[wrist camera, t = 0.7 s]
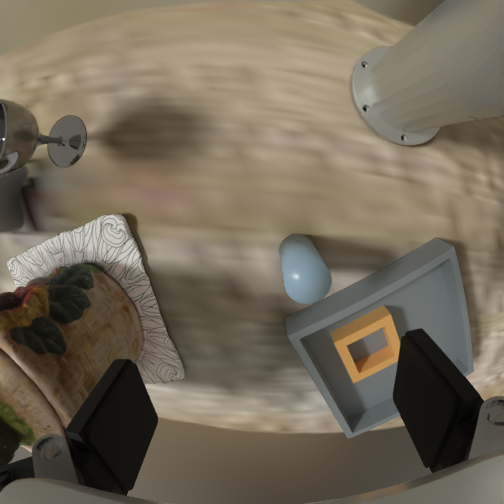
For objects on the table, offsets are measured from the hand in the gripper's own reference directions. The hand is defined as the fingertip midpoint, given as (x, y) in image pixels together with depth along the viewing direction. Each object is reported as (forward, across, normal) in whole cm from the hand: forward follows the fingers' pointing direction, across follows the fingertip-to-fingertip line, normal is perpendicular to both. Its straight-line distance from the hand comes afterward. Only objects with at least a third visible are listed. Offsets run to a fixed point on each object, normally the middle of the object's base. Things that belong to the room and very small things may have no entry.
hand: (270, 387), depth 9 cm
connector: (+26, -3, +2) cm, 26 cm away
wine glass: (+26, +24, -16) cm, 39 cm away
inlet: (+26, -12, +15) cm, 32 cm away
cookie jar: (+26, +26, +8) cm, 38 cm away
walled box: (+26, -16, +17) cm, 34 cm away
